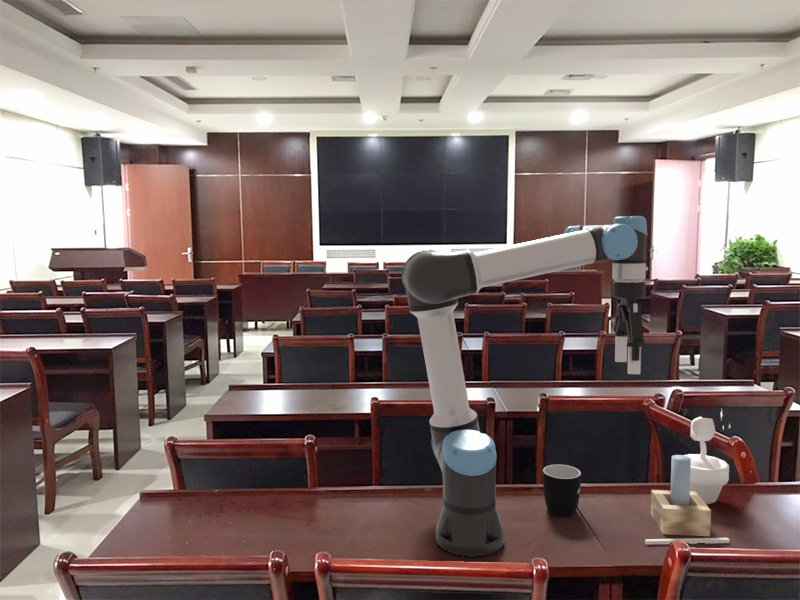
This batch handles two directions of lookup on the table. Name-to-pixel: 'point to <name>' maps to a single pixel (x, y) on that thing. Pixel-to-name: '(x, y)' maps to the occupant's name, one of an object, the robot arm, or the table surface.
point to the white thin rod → (687, 540)
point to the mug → (561, 489)
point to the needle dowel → (680, 480)
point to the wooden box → (680, 515)
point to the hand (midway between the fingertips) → (627, 367)
